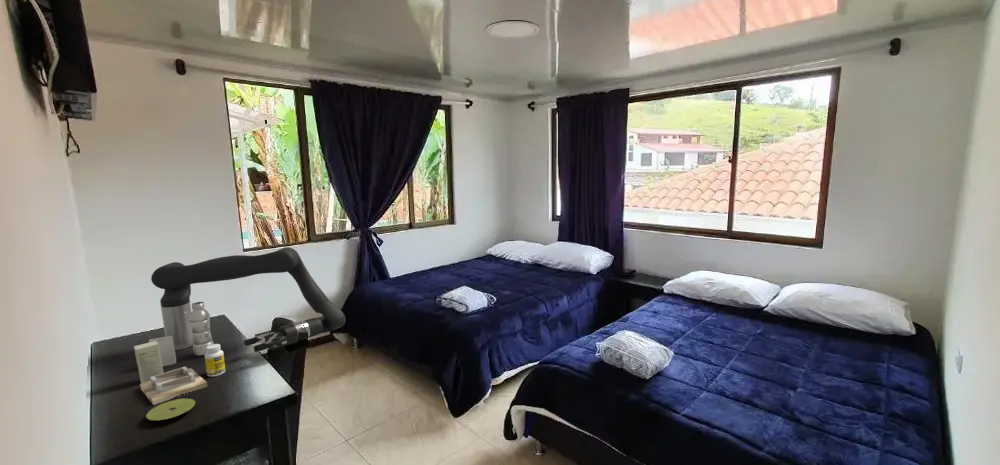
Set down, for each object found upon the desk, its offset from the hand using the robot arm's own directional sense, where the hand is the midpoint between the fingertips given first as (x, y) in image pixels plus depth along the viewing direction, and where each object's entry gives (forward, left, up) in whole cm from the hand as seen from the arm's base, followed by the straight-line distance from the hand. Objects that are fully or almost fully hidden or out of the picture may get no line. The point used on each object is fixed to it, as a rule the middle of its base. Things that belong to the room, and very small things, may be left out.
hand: (249, 346), depth 158 cm
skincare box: (-13, -26, -6) cm, 30 cm away
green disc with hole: (+19, -28, -6) cm, 35 cm away
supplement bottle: (0, -11, -6) cm, 13 cm away
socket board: (0, -23, -6) cm, 24 cm away
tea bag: (-24, -20, -6) cm, 32 cm away
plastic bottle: (-22, -8, -6) cm, 24 cm away
